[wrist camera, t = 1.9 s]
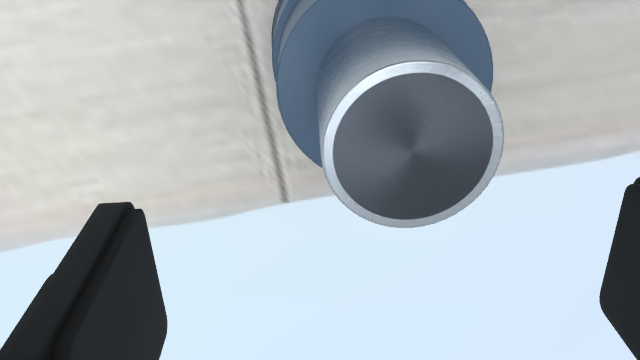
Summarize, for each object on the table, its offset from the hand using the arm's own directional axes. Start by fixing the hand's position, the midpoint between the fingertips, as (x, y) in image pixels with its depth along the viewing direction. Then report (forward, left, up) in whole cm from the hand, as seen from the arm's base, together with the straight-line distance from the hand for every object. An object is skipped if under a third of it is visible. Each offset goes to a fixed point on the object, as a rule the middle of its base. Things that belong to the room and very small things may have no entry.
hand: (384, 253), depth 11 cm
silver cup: (-2, +2, -16) cm, 16 cm away
